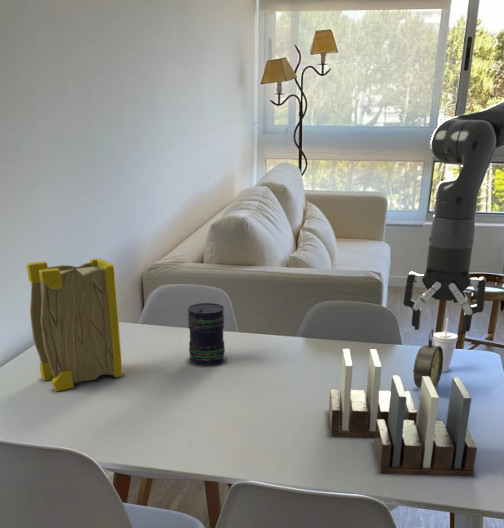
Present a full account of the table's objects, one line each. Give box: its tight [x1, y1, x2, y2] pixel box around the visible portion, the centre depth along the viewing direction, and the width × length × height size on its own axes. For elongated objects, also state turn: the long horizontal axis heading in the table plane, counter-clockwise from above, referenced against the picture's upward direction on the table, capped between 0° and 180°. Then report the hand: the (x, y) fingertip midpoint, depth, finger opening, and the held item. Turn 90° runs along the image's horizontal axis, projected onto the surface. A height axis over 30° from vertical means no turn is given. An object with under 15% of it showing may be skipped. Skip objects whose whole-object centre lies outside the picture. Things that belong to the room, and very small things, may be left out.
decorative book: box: [26, 258, 123, 392], centre depth 178 cm, size 20×11×30 cm, turn 124°
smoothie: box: [432, 318, 459, 373], centre depth 188 cm, size 6×6×14 cm
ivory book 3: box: [416, 376, 440, 468], centre depth 140 cm, size 1×11×15 cm, turn 177°
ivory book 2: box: [365, 348, 382, 431], centre depth 155 cm, size 1×11×15 cm, turn 177°
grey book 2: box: [445, 376, 472, 469], centre depth 140 cm, size 1×11×15 cm, turn 177°
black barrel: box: [187, 302, 226, 367], centre depth 194 cm, size 10×10×15 cm
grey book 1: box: [387, 375, 407, 467], centre depth 140 cm, size 1×11×15 cm, turn 177°
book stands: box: [328, 388, 478, 477], centre depth 150 cm, size 27×29×6 cm
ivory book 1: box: [339, 348, 353, 431], centre depth 155 cm, size 1×11×15 cm, turn 177°
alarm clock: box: [412, 328, 443, 390], centre depth 173 cm, size 11×5×16 cm, turn 151°
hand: (439, 330), depth 132 cm, fingers open, 8 cm apart
